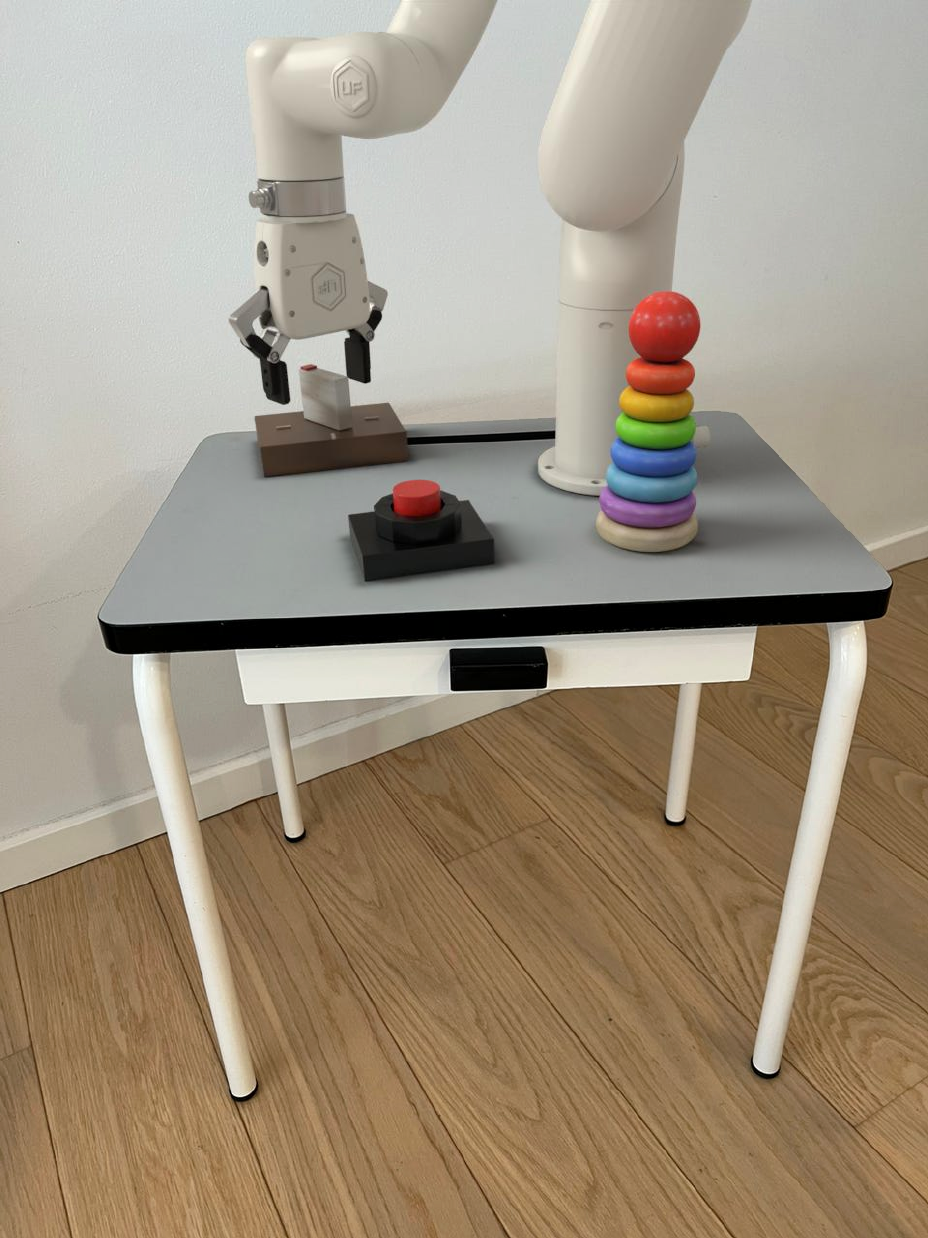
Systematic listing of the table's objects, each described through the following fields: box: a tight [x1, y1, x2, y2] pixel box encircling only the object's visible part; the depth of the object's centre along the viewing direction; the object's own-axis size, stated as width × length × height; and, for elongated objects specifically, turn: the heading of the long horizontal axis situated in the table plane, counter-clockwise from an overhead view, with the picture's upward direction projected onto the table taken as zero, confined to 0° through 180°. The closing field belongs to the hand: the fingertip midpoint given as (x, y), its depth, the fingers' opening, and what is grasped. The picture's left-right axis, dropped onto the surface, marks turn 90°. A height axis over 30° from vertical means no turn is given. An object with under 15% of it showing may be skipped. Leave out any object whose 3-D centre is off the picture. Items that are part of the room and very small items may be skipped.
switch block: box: [347, 489, 495, 583], centre depth 74 cm, size 10×8×4 cm
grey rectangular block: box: [298, 363, 353, 431], centre depth 93 cm, size 6×2×5 cm, turn 44°
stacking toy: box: [595, 290, 701, 553], centre depth 71 cm, size 8×8×19 cm
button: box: [392, 479, 441, 516], centre depth 72 cm, size 4×4×2 cm
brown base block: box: [254, 402, 409, 478], centre depth 95 cm, size 14×10×3 cm
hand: (319, 390), depth 92 cm, fingers open, 9 cm apart
